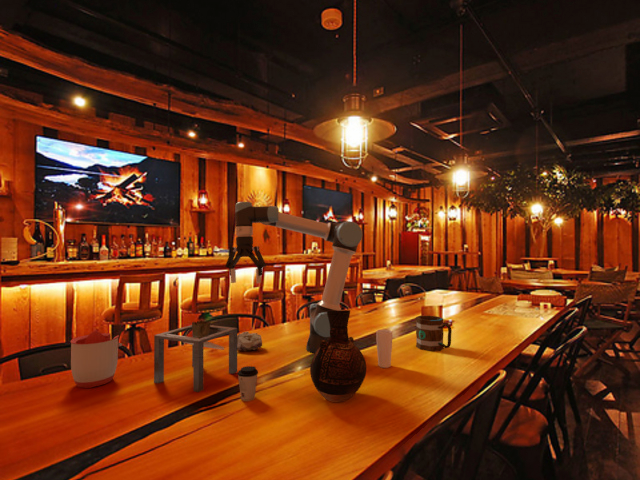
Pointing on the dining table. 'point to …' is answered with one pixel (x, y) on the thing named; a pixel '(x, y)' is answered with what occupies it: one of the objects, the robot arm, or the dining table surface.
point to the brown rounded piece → (201, 329)
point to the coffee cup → (247, 382)
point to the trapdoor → (206, 344)
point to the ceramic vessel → (338, 361)
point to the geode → (248, 341)
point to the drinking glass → (384, 347)
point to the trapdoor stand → (193, 352)
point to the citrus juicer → (94, 359)
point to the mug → (431, 333)
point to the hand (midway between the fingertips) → (245, 283)
